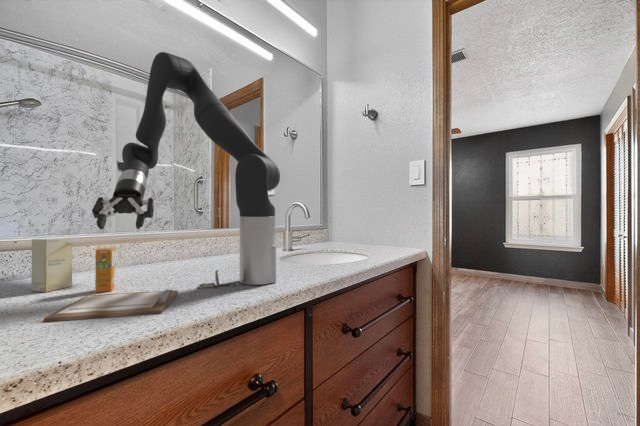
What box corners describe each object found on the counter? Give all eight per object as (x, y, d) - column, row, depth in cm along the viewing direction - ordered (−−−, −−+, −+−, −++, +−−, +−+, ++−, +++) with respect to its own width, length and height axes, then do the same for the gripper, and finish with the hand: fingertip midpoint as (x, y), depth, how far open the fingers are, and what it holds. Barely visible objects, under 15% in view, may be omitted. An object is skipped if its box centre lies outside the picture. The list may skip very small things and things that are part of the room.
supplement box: (94, 293, 67) (94, 249, 67) (98, 289, 71) (98, 247, 71) (111, 291, 69) (111, 248, 69) (115, 288, 72) (115, 246, 72)
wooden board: (178, 292, 68) (178, 284, 68) (161, 313, 54) (161, 303, 54) (86, 298, 64) (86, 289, 64) (43, 321, 50) (43, 311, 50)
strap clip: (197, 290, 71) (197, 272, 71) (198, 287, 74) (198, 270, 74) (234, 288, 74) (234, 270, 74) (234, 285, 77) (234, 268, 76)
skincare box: (45, 292, 68) (45, 239, 68) (30, 291, 69) (30, 239, 69) (73, 286, 74) (73, 237, 74) (59, 285, 75) (58, 236, 75)
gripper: (100, 176, 86) (83, 217, 75) (155, 178, 90) (147, 217, 79) (106, 196, 91) (91, 236, 80) (159, 197, 95) (151, 235, 85)
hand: (119, 227), depth 80 cm, fingers open, 8 cm apart
